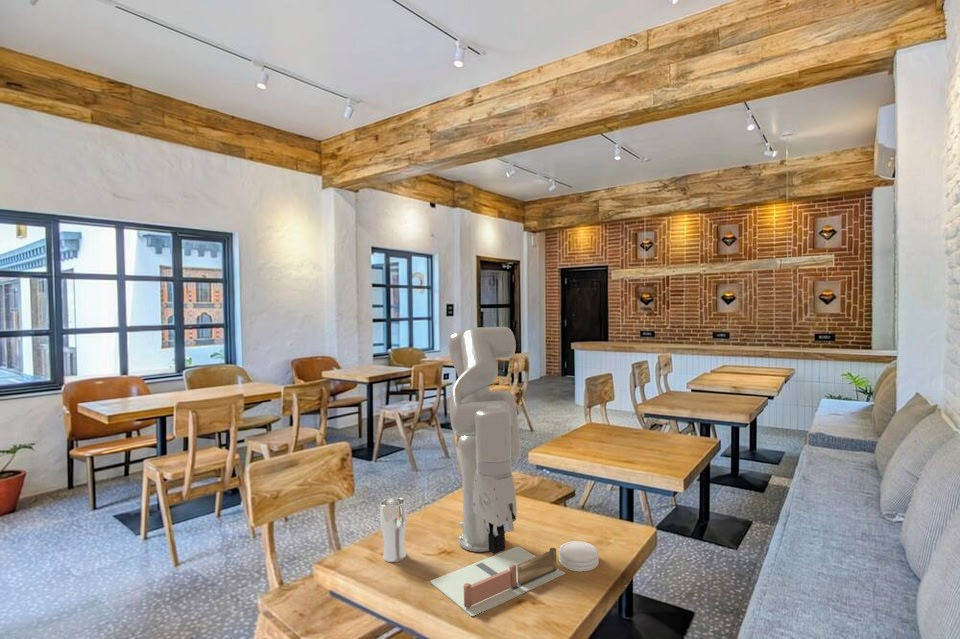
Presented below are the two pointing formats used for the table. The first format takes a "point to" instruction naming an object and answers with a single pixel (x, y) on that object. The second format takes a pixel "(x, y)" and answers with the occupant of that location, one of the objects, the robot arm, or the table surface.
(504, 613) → the table surface
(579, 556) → the white short round cylinder
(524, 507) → the table surface
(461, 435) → the robot arm
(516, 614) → the table surface
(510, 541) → the table surface
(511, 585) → the panel
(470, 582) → the board
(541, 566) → the fixed panel
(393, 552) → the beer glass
